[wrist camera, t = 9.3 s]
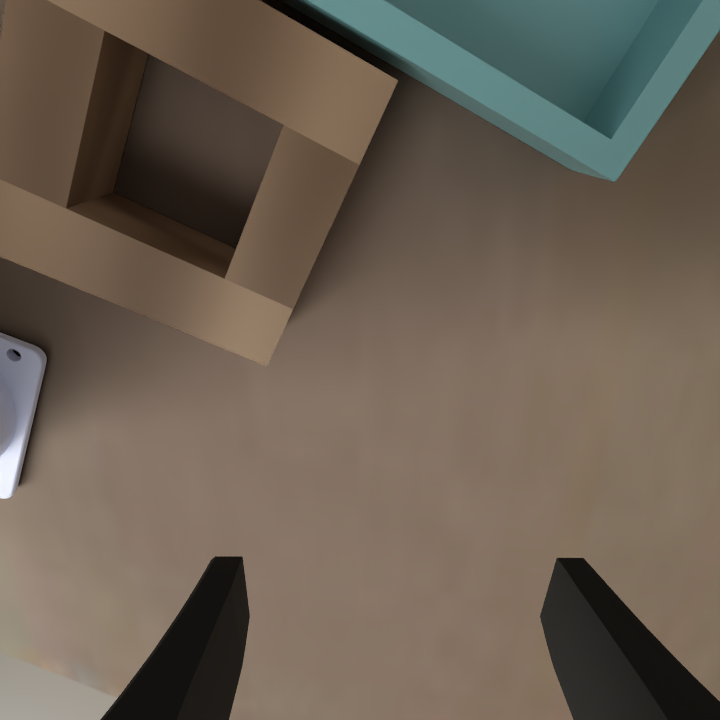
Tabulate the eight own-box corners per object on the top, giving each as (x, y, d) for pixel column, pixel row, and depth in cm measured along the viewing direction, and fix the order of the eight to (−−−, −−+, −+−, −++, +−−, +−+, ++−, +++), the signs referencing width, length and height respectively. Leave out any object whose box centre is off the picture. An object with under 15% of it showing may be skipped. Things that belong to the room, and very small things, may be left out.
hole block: (32, 223, 17) (-29, 244, 14) (91, -86, 13) (24, -137, 10) (279, 329, 19) (266, 366, 16) (390, 85, 15) (398, 80, 12)
